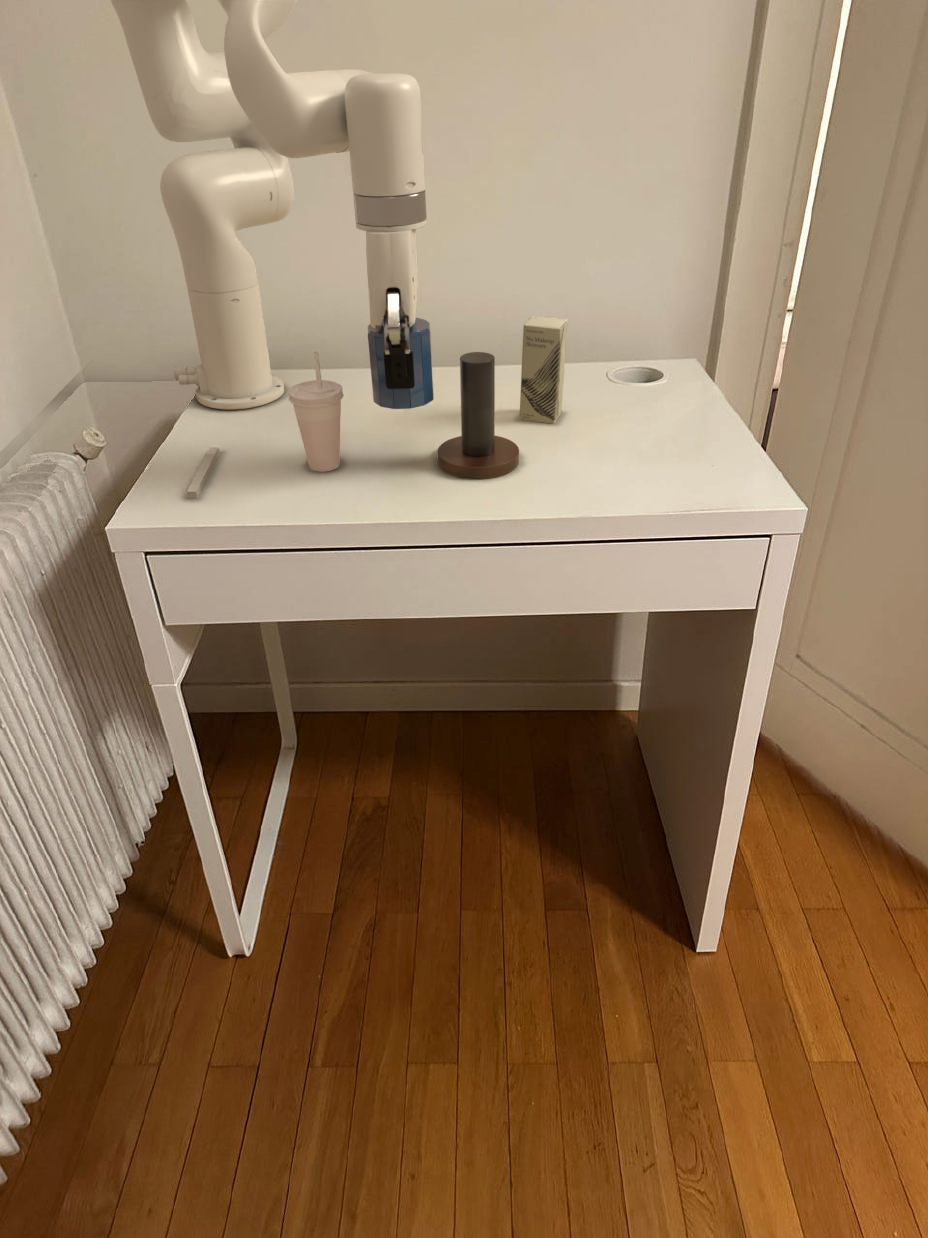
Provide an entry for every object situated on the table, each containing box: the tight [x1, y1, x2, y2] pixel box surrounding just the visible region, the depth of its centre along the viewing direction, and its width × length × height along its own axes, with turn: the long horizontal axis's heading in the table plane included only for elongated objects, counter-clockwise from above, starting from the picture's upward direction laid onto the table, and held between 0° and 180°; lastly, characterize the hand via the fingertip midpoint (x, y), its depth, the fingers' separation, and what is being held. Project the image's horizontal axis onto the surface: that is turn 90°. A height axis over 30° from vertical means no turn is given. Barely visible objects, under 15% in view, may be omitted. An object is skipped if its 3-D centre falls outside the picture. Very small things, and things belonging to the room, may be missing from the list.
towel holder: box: [437, 351, 520, 480], centre depth 107 cm, size 10×10×13 cm
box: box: [519, 315, 569, 424], centre depth 119 cm, size 5×4×13 cm
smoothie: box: [288, 351, 345, 473], centre depth 107 cm, size 6×6×14 cm
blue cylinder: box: [367, 317, 435, 410], centre depth 104 cm, size 7×7×8 cm
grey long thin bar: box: [186, 446, 220, 500], centre depth 109 cm, size 12×1×1 cm, turn 1°
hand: (402, 375), depth 104 cm, fingers closed on blue cylinder, 7 cm apart
